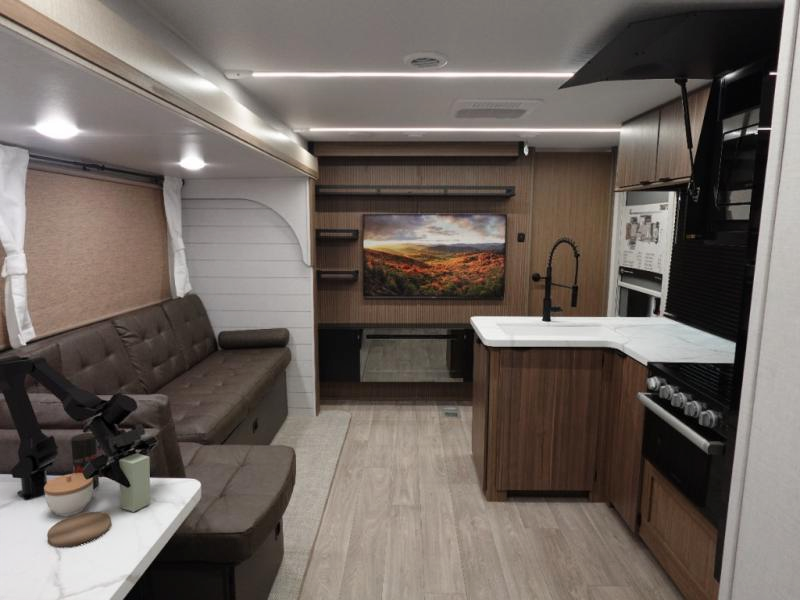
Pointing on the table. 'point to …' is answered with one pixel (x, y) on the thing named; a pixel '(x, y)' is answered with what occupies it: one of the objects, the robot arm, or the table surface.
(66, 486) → the lidded jar
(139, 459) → the post
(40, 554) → the table surface
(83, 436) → the deodorant
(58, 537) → the disc
